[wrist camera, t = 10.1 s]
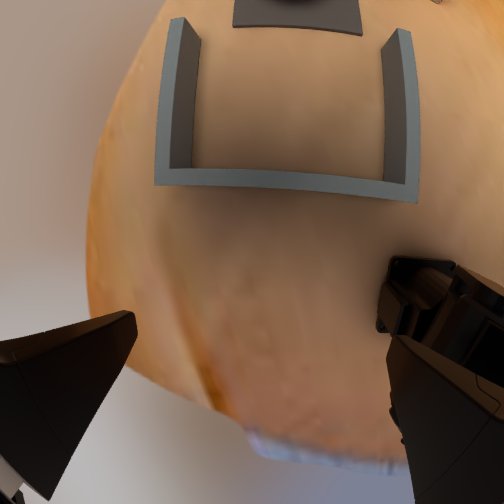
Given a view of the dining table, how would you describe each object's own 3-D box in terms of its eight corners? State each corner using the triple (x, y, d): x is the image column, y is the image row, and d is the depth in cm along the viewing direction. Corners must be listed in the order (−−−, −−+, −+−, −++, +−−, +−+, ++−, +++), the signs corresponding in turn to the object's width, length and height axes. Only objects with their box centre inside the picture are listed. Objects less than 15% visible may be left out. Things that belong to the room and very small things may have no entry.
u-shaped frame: (392, 52, 15) (410, 31, 11) (394, 198, 18) (417, 203, 14) (189, 41, 16) (170, 19, 13) (178, 183, 20) (154, 185, 16)
